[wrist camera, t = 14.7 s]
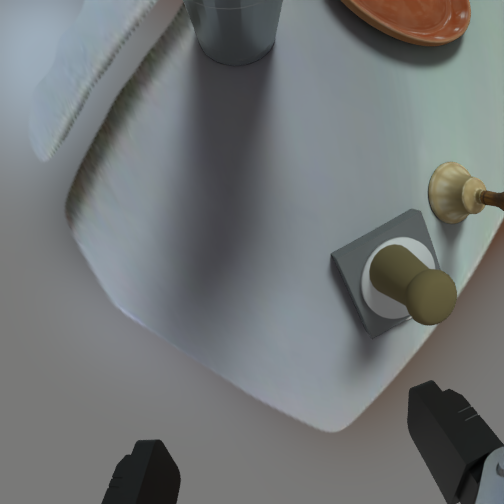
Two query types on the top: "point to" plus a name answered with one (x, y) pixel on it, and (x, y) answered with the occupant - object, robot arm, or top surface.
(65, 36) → the top surface
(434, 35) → the saucer
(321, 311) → the top surface
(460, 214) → the hand bell
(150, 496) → the robot arm
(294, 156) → the top surface
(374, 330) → the scale
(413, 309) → the cork
